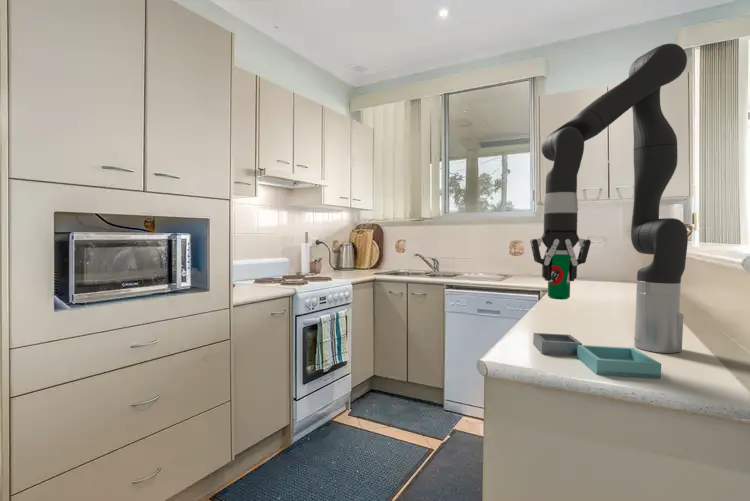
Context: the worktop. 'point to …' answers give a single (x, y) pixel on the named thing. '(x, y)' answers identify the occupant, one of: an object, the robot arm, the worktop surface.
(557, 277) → the soda can
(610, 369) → the tray
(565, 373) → the worktop surface
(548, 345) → the grey square bin
